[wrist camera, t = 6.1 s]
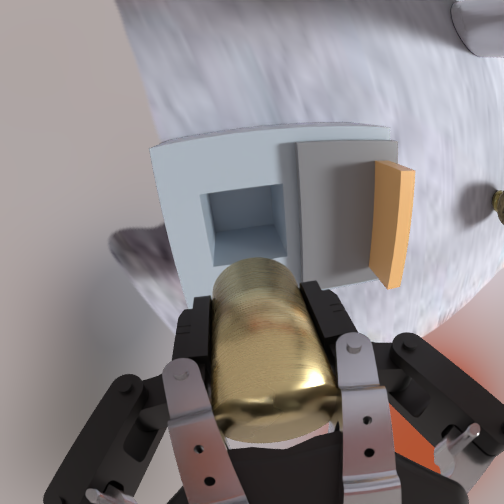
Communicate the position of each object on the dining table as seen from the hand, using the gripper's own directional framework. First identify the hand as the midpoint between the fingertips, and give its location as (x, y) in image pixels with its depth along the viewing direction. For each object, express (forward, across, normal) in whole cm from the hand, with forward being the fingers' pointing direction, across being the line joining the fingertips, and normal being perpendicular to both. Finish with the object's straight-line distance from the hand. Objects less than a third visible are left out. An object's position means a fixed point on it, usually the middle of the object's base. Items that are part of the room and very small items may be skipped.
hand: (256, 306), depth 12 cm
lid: (+9, -8, 0) cm, 12 cm away
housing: (+18, -3, 0) cm, 18 cm away
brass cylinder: (+1, 0, 0) cm, 1 cm away
